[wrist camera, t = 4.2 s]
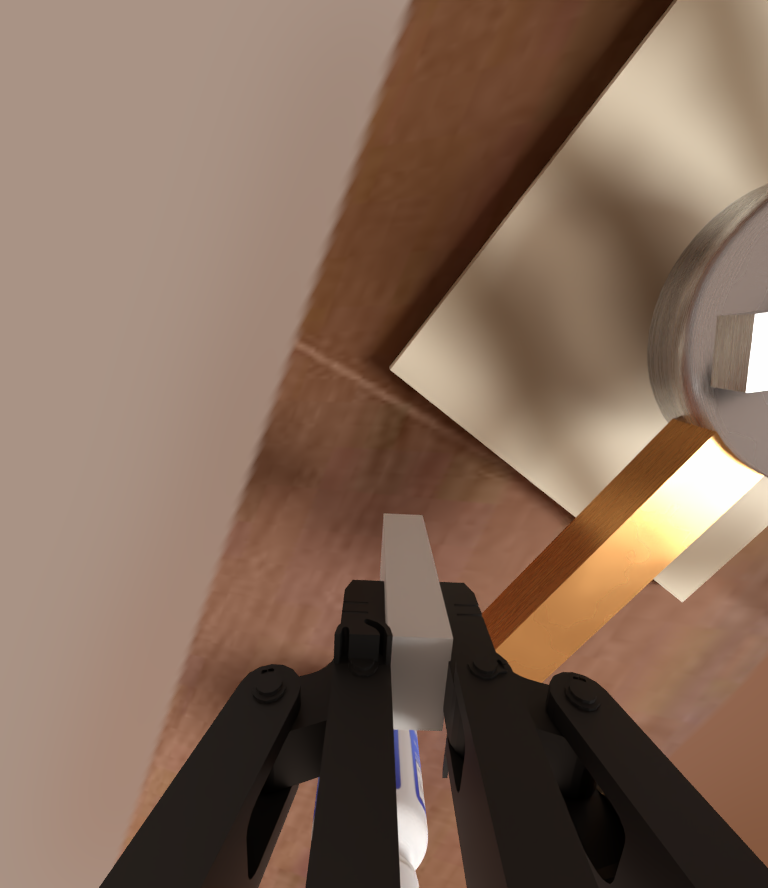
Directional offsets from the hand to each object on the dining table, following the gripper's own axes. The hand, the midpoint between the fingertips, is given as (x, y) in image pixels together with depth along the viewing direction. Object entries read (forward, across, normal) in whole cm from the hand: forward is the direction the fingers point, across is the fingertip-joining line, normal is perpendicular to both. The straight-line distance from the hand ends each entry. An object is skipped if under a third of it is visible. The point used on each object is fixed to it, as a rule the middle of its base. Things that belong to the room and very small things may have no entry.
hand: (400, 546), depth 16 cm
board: (+6, +13, +9) cm, 17 cm away
